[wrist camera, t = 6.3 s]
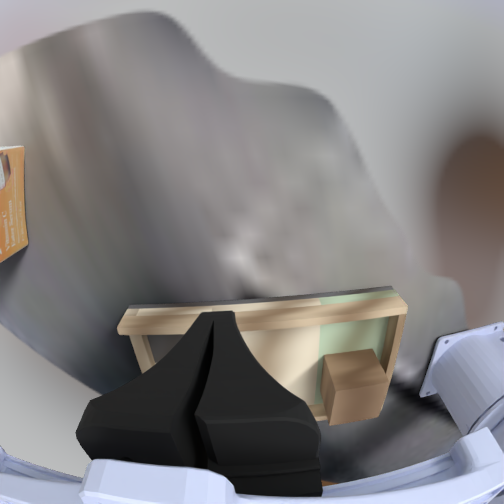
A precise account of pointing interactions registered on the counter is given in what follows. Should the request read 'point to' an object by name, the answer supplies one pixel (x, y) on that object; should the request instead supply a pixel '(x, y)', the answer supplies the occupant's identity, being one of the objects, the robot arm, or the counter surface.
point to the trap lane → (283, 332)
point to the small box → (12, 201)
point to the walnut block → (352, 386)
